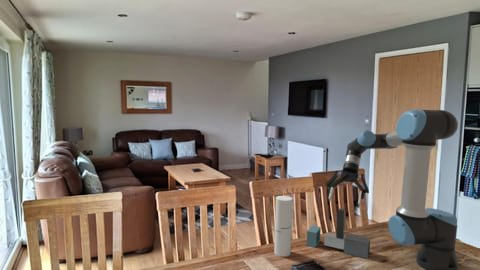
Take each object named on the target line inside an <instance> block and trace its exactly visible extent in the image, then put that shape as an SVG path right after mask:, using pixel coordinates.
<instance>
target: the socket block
mask: <svg viewBox="0 0 480 270" xmlns="http://www.w3.org/2000/svg"><path fill="white" fill-rule="evenodd" d="M321 229H322V228H321V226H318V225H313V224H312V225H311V226H310V227H309V228H308V230H306V246H308V247H312V248H316V247H317V246H318V245H319V243H320V242H321V233H322V232H321V231H322V230H321Z"/></svg>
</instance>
